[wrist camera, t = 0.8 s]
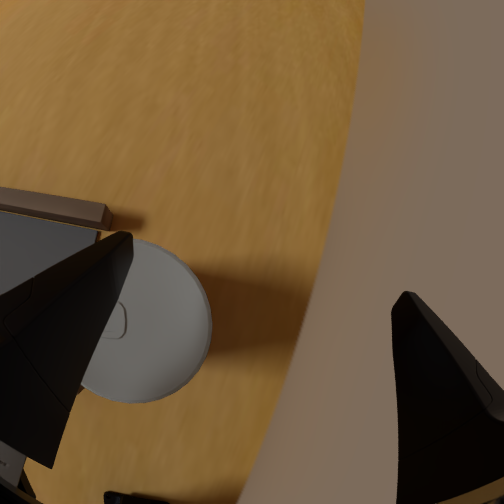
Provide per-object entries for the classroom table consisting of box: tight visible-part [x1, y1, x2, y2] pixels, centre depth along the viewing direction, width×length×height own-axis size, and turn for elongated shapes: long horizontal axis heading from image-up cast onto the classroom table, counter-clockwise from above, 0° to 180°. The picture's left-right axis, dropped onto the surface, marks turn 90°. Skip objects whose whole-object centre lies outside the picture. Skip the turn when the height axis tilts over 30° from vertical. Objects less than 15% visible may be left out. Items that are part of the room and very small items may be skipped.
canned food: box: [81, 239, 212, 403], centre depth 17 cm, size 8×8×11 cm
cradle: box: [0, 187, 113, 395], centre depth 18 cm, size 14×17×3 cm
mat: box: [0, 212, 98, 295], centre depth 19 cm, size 11×14×1 cm
